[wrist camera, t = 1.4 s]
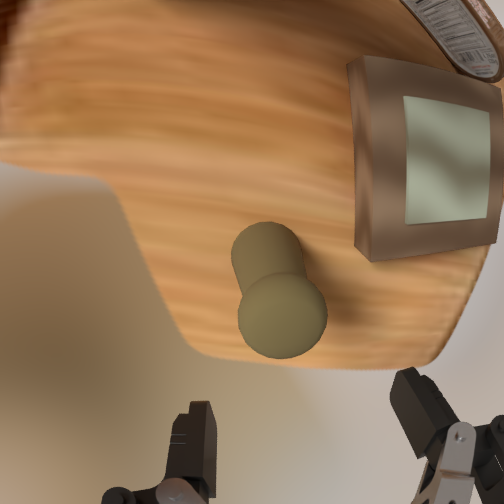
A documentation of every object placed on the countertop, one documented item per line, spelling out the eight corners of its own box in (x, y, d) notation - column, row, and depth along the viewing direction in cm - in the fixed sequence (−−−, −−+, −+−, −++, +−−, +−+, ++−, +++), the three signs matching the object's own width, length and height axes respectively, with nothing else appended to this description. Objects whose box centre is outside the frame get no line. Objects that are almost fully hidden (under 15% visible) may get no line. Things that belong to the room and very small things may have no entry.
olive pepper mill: (252, 297, 27) (263, 387, 17) (217, 243, 25) (207, 319, 15) (312, 266, 26) (355, 344, 16) (281, 208, 24) (317, 263, 14)
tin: (474, 75, 19) (531, 71, 12) (462, 89, 20) (522, 87, 12) (380, -37, 15) (421, -73, 7) (363, -28, 16) (404, -67, 8)
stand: (346, 64, 20) (366, 53, 16) (478, 89, 20) (503, 88, 16) (354, 246, 26) (372, 264, 22) (475, 232, 26) (498, 244, 22)
